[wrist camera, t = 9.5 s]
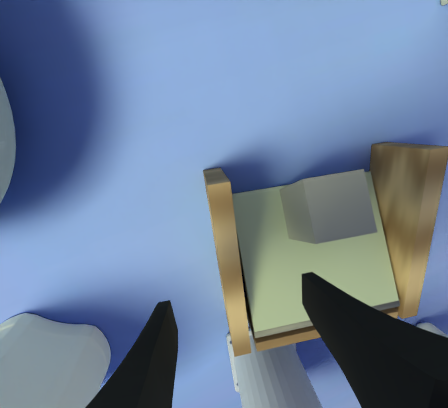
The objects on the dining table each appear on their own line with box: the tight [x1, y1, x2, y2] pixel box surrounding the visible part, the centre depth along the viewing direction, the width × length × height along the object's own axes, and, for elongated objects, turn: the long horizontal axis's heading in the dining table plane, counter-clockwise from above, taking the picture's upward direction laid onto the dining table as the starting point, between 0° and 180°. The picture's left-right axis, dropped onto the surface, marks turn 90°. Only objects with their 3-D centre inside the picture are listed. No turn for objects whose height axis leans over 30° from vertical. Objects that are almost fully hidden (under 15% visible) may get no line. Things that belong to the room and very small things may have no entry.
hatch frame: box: [203, 142, 448, 357], centre depth 20 cm, size 15×17×6 cm
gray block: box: [279, 169, 377, 244], centre depth 18 cm, size 4×4×5 cm
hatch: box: [232, 171, 400, 338], centre depth 20 cm, size 12×13×1 cm
